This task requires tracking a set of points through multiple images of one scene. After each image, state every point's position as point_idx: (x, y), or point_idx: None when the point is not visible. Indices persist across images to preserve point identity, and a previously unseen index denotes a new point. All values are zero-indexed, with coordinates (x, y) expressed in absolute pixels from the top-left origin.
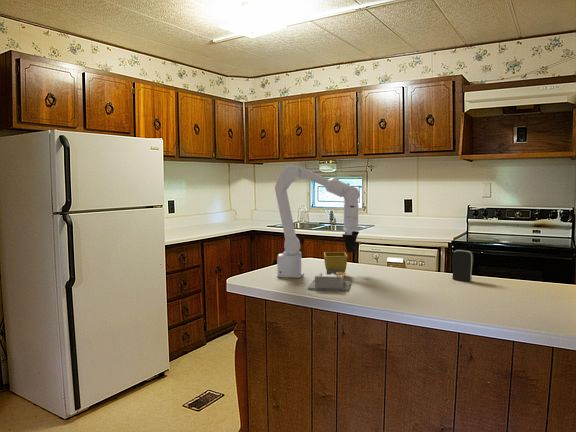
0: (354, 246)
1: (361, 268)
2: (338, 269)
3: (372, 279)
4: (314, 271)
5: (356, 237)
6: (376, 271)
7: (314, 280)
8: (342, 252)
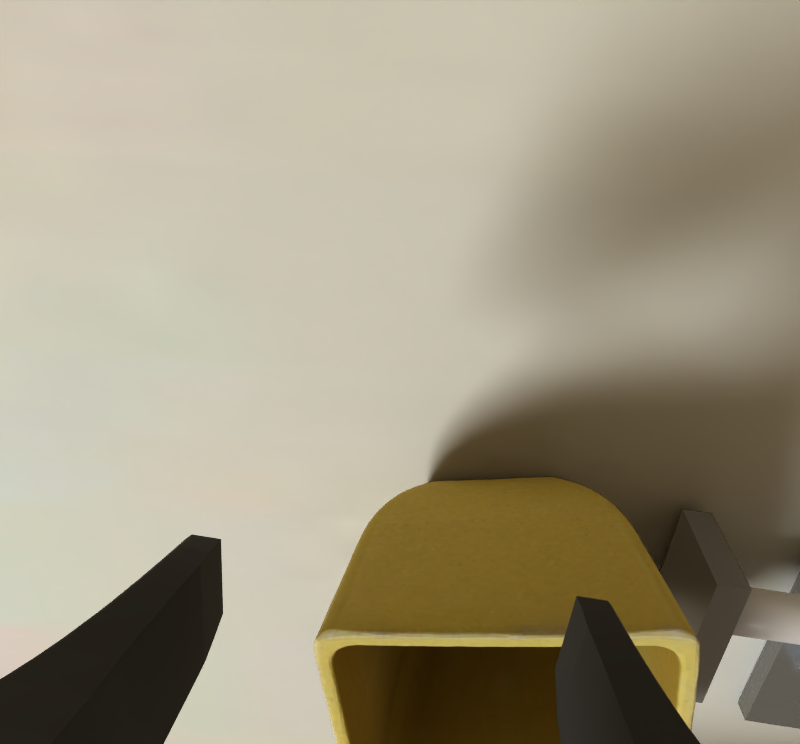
0: (197, 574)
1: (26, 237)
2: (719, 600)
3: (683, 126)
4: (297, 674)
5: (59, 737)
6: (156, 30)
7: (773, 714)
8: (332, 667)
